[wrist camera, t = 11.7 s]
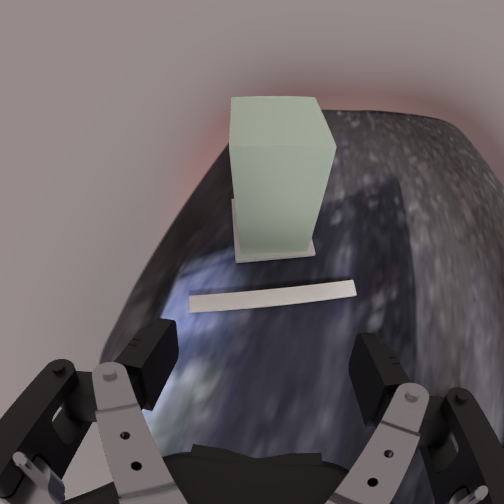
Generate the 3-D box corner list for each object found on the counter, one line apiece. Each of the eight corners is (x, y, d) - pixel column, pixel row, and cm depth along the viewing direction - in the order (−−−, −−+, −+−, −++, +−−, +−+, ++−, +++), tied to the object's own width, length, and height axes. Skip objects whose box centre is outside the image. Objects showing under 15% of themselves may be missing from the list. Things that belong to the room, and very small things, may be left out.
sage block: (298, 200, 23) (314, 97, 14) (307, 251, 20) (336, 146, 12) (239, 202, 23) (231, 97, 14) (240, 254, 20) (229, 146, 12)
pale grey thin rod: (352, 280, 19) (352, 279, 19) (355, 295, 19) (356, 294, 19) (189, 296, 19) (188, 295, 19) (189, 312, 19) (188, 311, 18)
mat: (300, 196, 24) (300, 193, 23) (314, 255, 21) (315, 253, 20) (231, 201, 23) (231, 198, 23) (235, 263, 20) (235, 261, 20)
